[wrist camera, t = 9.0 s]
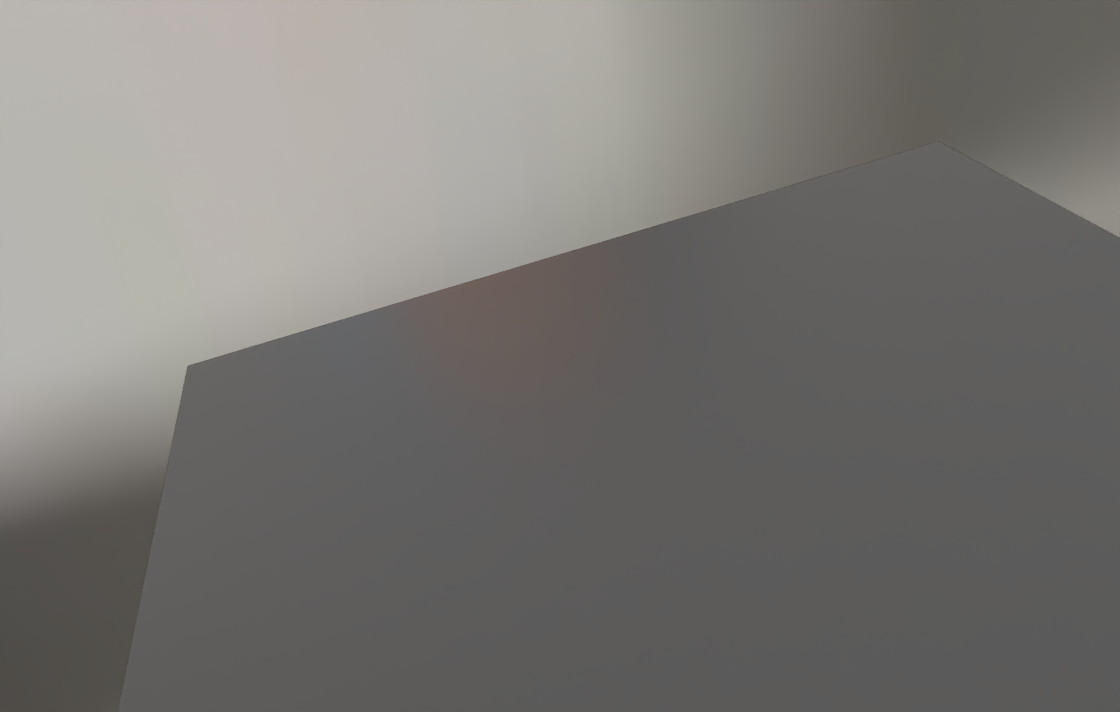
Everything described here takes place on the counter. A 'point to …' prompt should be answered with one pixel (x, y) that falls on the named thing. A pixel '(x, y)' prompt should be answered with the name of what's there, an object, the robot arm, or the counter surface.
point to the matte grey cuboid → (673, 475)
